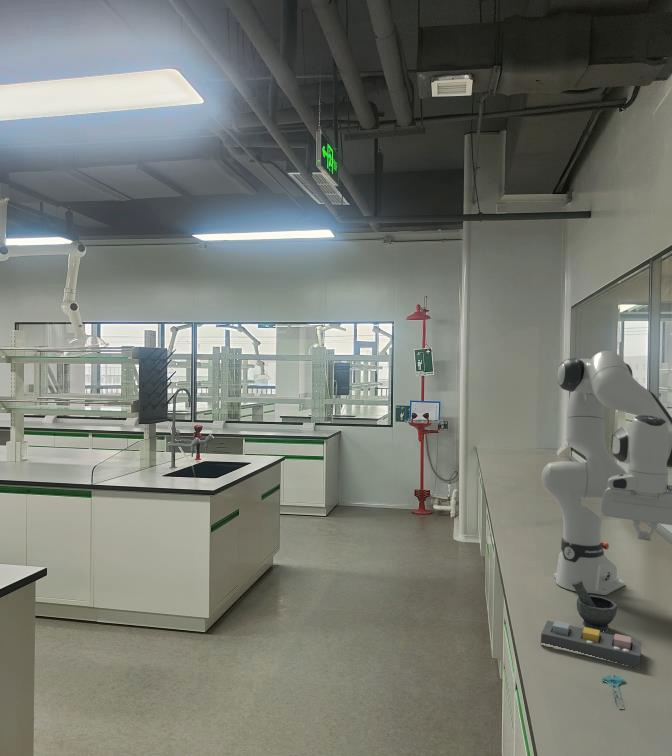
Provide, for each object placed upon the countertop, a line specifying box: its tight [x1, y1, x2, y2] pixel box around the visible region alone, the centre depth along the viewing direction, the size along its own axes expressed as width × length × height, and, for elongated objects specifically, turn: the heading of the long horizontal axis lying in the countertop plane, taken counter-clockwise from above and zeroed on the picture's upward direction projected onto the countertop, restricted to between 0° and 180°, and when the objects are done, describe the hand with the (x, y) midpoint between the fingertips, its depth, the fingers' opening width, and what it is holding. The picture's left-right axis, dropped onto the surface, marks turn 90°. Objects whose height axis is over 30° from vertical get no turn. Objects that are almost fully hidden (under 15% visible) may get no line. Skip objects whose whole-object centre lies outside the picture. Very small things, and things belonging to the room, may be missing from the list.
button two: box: [614, 633, 632, 650], centre depth 151 cm, size 4×4×2 cm
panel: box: [540, 620, 642, 669], centre depth 154 cm, size 22×9×3 cm, turn 62°
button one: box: [582, 626, 600, 643], centre depth 154 cm, size 4×4×2 cm
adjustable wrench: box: [601, 674, 627, 699], centre depth 134 cm, size 14×1×5 cm
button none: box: [552, 620, 571, 636], centre depth 158 cm, size 4×4×2 cm
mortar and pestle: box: [572, 580, 618, 633], centre depth 167 cm, size 11×9×12 cm
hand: (644, 539), depth 154 cm, fingers closed
